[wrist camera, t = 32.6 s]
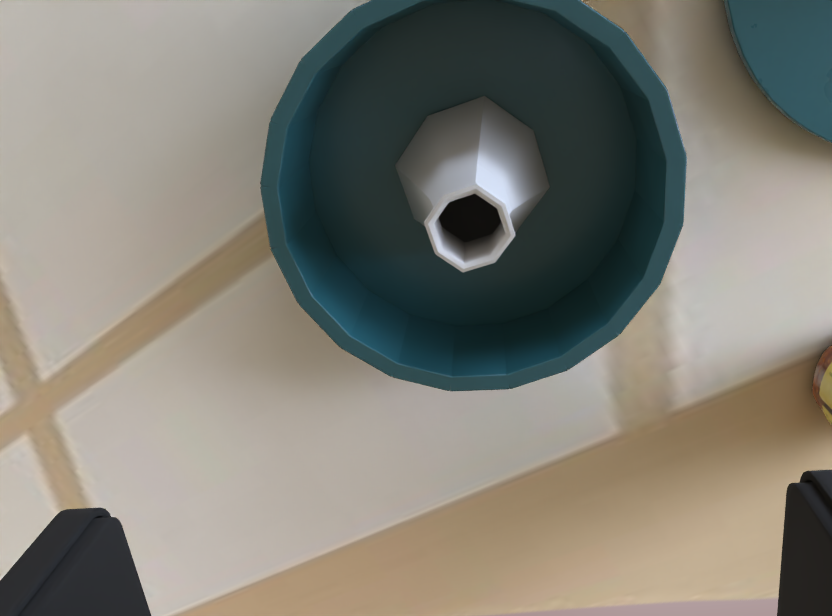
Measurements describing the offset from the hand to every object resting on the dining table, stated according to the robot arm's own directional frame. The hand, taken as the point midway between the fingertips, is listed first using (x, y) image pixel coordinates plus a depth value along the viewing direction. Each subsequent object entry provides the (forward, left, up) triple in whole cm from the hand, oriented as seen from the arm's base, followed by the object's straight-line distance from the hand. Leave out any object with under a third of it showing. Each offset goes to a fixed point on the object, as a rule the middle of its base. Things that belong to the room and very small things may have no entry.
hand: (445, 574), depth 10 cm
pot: (0, 0, -28) cm, 28 cm away
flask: (0, 0, -28) cm, 28 cm away
